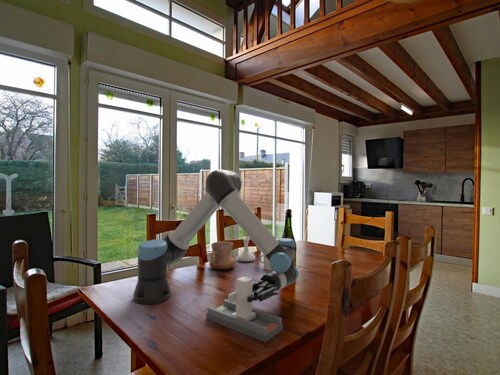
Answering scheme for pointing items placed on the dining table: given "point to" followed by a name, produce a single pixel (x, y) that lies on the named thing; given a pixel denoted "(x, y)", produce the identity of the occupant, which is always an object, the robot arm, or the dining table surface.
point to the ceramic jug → (222, 255)
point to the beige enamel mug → (265, 263)
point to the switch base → (258, 327)
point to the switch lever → (241, 290)
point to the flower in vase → (246, 251)
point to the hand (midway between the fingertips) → (234, 300)
